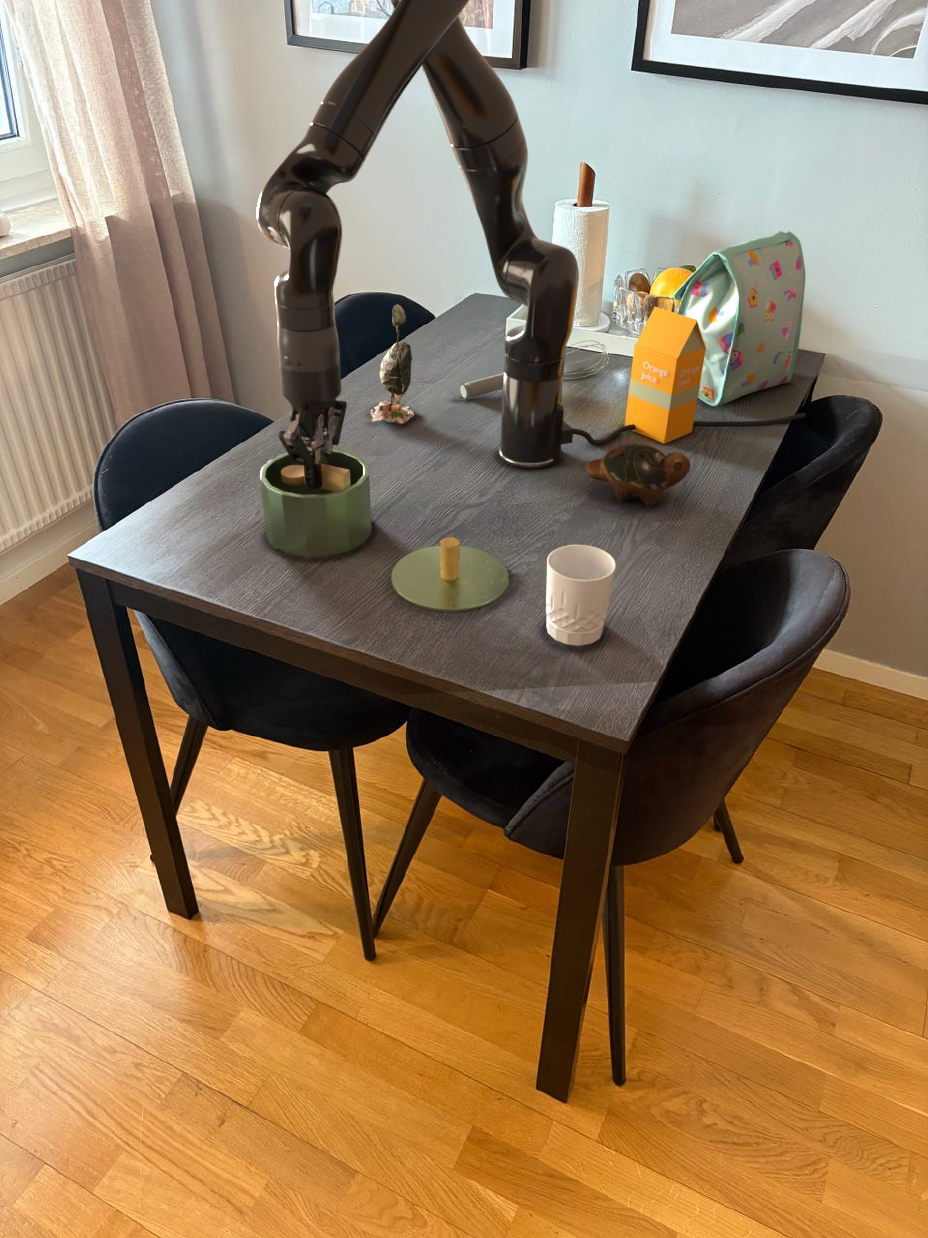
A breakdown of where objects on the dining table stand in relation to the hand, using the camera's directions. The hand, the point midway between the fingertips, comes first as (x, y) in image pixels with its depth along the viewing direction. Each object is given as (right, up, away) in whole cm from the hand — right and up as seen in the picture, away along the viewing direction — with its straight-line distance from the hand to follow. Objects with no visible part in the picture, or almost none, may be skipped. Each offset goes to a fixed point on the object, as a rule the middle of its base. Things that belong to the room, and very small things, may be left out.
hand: (318, 482), depth 129 cm
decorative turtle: (+45, 0, +16) cm, 48 cm away
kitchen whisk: (+33, +25, +51) cm, 65 cm away
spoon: (-1, 0, 0) cm, 1 cm away
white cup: (+33, -20, -13) cm, 41 cm away
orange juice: (+53, +14, +35) cm, 65 cm away
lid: (+18, -13, -5) cm, 23 cm away
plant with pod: (+7, +17, +38) cm, 43 cm away
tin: (-1, -6, +5) cm, 8 cm away
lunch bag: (+69, +26, +52) cm, 90 cm away
